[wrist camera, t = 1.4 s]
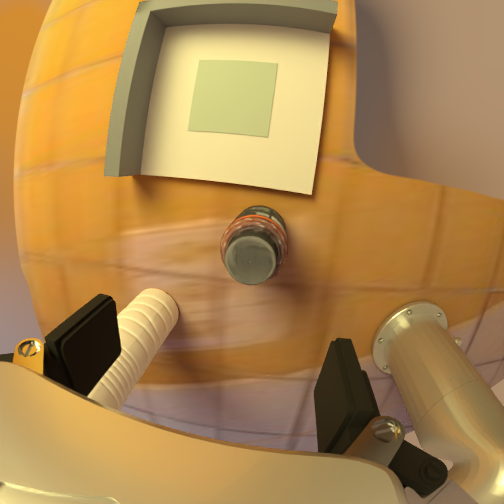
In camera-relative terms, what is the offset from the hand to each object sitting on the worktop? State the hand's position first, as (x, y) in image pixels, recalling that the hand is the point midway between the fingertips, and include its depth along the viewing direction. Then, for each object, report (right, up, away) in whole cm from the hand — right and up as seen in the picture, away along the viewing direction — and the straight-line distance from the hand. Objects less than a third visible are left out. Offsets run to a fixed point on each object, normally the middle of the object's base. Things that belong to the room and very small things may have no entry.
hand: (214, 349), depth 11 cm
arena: (-1, +23, +17) cm, 28 cm away
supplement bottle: (+3, +7, +21) cm, 22 cm away
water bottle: (-12, -3, +26) cm, 28 cm away
